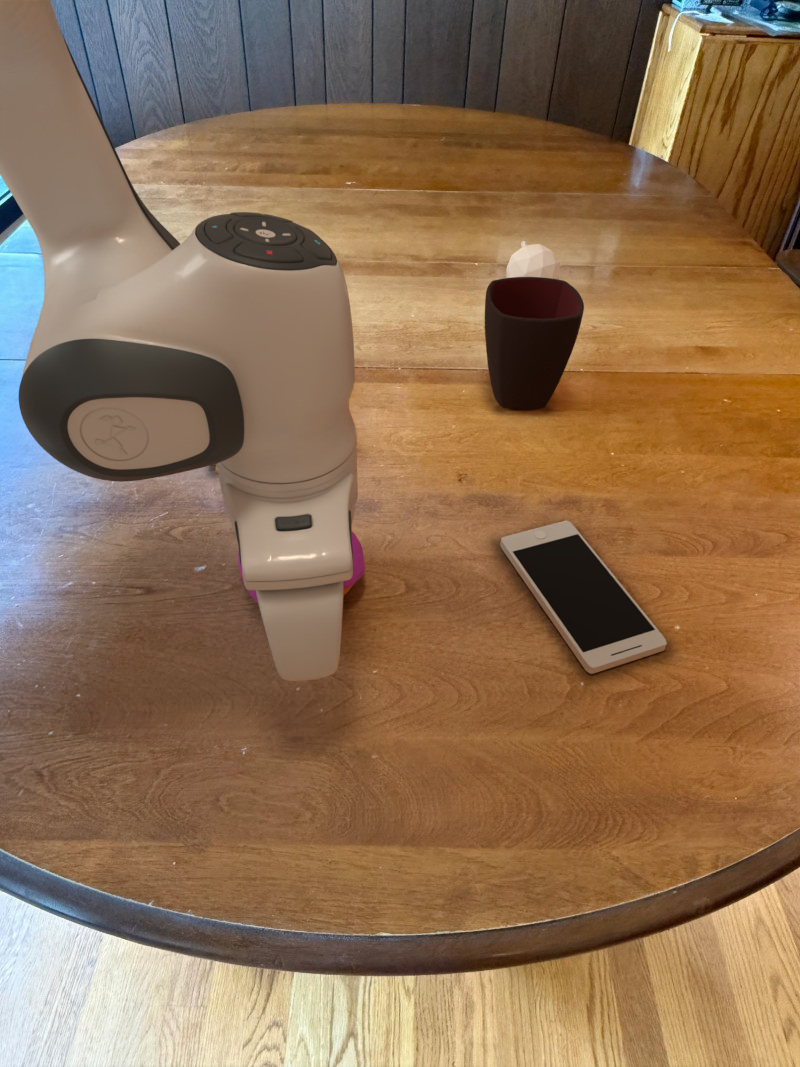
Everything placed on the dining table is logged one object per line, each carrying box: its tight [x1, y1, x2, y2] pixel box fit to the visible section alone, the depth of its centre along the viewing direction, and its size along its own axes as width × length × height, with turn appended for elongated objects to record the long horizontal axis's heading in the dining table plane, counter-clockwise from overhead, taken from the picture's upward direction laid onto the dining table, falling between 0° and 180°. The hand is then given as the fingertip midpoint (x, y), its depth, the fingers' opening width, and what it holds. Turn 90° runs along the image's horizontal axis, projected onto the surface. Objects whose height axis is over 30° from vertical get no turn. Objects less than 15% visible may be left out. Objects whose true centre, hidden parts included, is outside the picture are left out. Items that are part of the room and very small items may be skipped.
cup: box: [484, 277, 585, 412], centre depth 85 cm, size 10×14×12 cm
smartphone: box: [500, 520, 668, 675], centre depth 65 cm, size 7×16×1 cm, turn 21°
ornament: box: [505, 240, 561, 280], centre depth 103 cm, size 7×7×8 cm
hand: (303, 616), depth 60 cm, fingers closed
